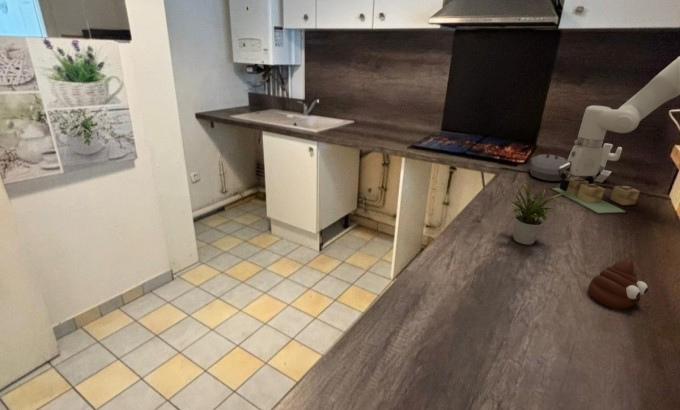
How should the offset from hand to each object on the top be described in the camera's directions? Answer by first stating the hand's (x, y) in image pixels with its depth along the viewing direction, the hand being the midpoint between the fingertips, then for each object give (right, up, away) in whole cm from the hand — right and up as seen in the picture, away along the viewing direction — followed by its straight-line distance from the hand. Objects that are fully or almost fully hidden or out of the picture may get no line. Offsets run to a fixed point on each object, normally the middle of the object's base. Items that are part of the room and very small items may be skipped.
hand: (574, 189), depth 130 cm
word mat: (+1, -4, -5) cm, 6 cm away
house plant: (-37, -15, -32) cm, 51 cm away
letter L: (0, -1, +1) cm, 1 cm away
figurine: (+19, +4, +15) cm, 25 cm away
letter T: (+13, -5, -6) cm, 15 cm away
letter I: (+1, -4, -6) cm, 7 cm away
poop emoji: (-28, -25, -55) cm, 67 cm away
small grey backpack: (+1, +6, +19) cm, 21 cm away
